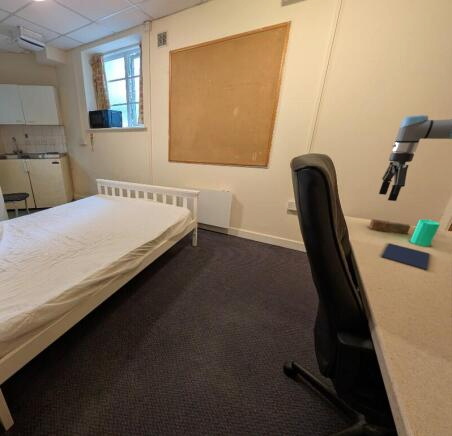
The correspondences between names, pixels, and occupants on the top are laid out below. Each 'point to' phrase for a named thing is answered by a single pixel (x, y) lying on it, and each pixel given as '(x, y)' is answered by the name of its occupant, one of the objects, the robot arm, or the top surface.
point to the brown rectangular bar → (389, 226)
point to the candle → (424, 232)
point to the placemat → (406, 256)
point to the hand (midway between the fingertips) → (386, 197)
